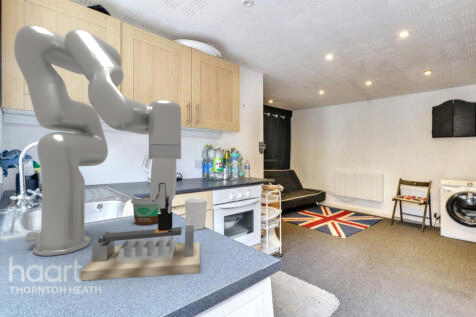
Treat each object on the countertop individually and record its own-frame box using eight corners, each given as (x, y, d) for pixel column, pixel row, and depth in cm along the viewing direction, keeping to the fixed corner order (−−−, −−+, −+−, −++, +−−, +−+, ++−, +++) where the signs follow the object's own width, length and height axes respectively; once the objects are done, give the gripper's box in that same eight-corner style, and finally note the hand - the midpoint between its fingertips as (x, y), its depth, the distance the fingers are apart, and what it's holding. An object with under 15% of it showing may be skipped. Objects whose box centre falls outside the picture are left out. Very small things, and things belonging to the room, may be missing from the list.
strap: (97, 243, 52) (97, 236, 52) (104, 237, 56) (104, 231, 55) (180, 236, 55) (180, 229, 55) (181, 230, 59) (181, 224, 59)
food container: (127, 227, 82) (128, 199, 82) (130, 222, 88) (131, 196, 88) (164, 225, 85) (164, 198, 85) (164, 220, 91) (165, 195, 91)
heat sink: (87, 266, 49) (88, 238, 49) (104, 249, 58) (104, 225, 58) (193, 260, 53) (193, 234, 53) (193, 245, 62) (194, 222, 62)
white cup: (207, 224, 88) (208, 198, 88) (205, 230, 80) (205, 202, 80) (186, 223, 88) (187, 197, 88) (182, 230, 80) (183, 201, 80)
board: (80, 280, 47) (80, 271, 47) (105, 254, 60) (105, 246, 60) (199, 272, 51) (199, 263, 51) (199, 249, 64) (199, 242, 64)
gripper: (154, 153, 62) (154, 221, 62) (141, 152, 48) (141, 241, 48) (182, 153, 64) (183, 220, 64) (178, 152, 49) (178, 238, 49)
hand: (165, 228), depth 56 cm, fingers closed
